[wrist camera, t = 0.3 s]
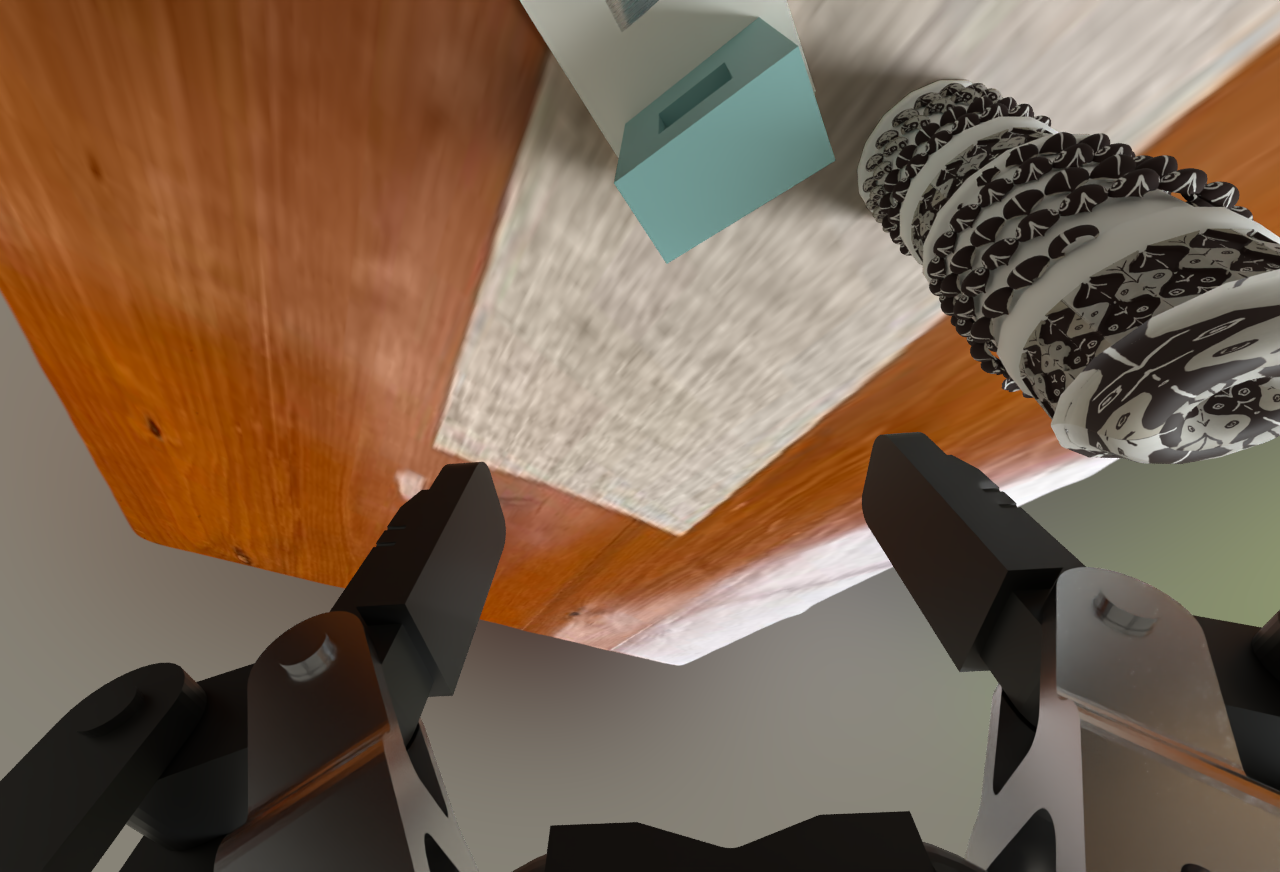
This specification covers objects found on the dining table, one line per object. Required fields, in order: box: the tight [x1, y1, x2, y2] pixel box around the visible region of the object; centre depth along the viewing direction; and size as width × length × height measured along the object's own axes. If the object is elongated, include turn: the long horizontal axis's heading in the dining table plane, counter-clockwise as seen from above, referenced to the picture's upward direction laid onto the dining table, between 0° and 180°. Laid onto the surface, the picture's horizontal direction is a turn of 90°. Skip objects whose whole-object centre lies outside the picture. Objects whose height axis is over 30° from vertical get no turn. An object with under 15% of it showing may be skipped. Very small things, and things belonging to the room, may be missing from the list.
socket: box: [614, 17, 836, 263], centre depth 25 cm, size 5×9×10 cm, turn 124°
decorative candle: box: [857, 80, 1280, 464], centre depth 23 cm, size 9×9×25 cm
